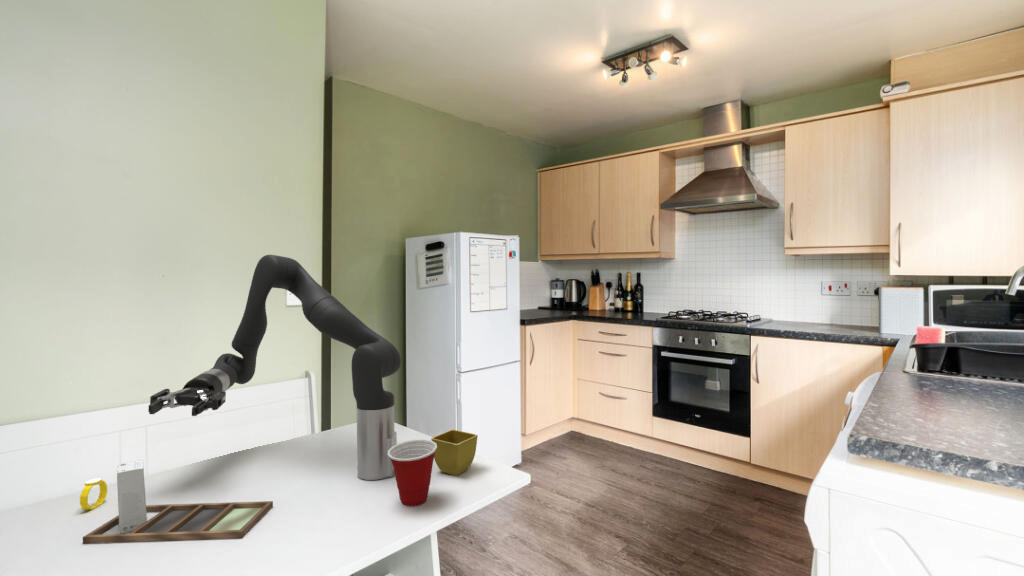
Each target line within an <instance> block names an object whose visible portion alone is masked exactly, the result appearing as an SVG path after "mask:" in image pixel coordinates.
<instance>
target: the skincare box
mask: <svg viewBox="0 0 1024 576" xmlns="http://www.w3.org/2000/svg"><path fill="white" fill-rule="evenodd" d="M144 470H145V466H144V460H137V461H131V462H126V463H121V464H119V465H117V469H116V471H117V472H116V482H117V483H116V484H117V488H116V489H117V507H118V515H119V524H118V531H119V534H129V533H130V532H132V531H133V530H135V529H136V528H138V527H139V526H141V525H142V524H144V523H145V522H147V521H148V519H147V518H148V517H147V512H146V505H147V501H146V485H145V471H144Z"/></svg>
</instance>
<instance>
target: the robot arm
mask: <svg viewBox="0 0 1024 576" xmlns="http://www.w3.org/2000/svg"><path fill="white" fill-rule="evenodd" d="M274 288H275V289H281V290H285V291H288V292H290V293H291V294H293V295H294V296H295V297H296V298H297V299H298V300H299V301H300V303H301V309H302V312H303V315H304V317H305V319H306V320H307V321H308V322H309V323H310V325H312V326H313V327H314V328H315V329H316V330H317V331H318V332H319V333H321V334H322V335H325V336H326V337H328V338H330V339H333V340H335V341H337V342H339V343H341V344H344V345H347V346H349V347H351V348H352V349H354V351H353V354H352V358H351V379H352V380H351V382H352V393H353V397H354V399H355V402H356V403H355V404H356V455H357V457H356V459H357V464H356V465H357V466H356V467H357V477H358V479H361V480H367V481H374V480H382V479H386V478H392V477H394V475H395V472H394V467H393V464H392V462H391V459H390V457H388V450H389V449H390V448H391V447H393V446H395V445H397V444H398V442H397V440H398V437H397V435H398V434H397V431H395V396H394V393H393V392H391V391H389V390H388V391H387V390H384V385H383V378H387V377H389V376H392V375H394V374H396V373H397V372H398V371H399V369H400V368H401V361H402V360H401V356H400V353H399V351H398V349H397V348H396V346H395V345H394V344H393V343H391V342H390V341H389V340H388V339H386V338H385V337H383V336H381V335H380V334H378V333H377V332H376V331H374V330H373V329H372V328H370V327H369V326H367V325H366V324H365V323H364V322H363V321H362V320H360V318H358V317H357V316H356V315H355V314H353V312H351V310H349V309H348V308H347V307H346V306H345V305H344V304H342V302H340V301H339V300H338V298H336V297H335V296H333V295H332V294H331V293H329V292H328V291H327V290H326V289H325V287H323V286H322V285H320V284H319V283H318V282H317V281H316V280H315V279H314V278H313V277H312V276H311V274H309V272H308V271H307V270H306V269H305V268H304V266H302V264H300V263H299V261H297V260H295V259H294V258H291V257H287V256H282V255H275V254H266V255H263V256H262V257H261V258H260V259H259V260H258V262H257V264H256V267H255V269H254V272H253V275H252V279H251V283H250V287H249V290H248V295H247V296H248V297H247V299H246V304H245V308H244V313H243V314H242V318H241V320H240V323H239V324H238V327H237V330H236V332H235V334H234V336H233V339H232V341H231V348H232V349H233V350H234V351H236V352H237V353H239V354H240V355H241V356H242V357H241V356H239V355H236V354H233V353H223V354H221V355H220V356H219V357H218V358H217V359H216V361H215V363H214V365H213V367H212V368H210V369H208V370H205V371H204V372H201V373H200V374H198V375H197V376H194V377H193V378H192V379H190V380H189V381H187V382H186V383H185V385H184V386H183V387H182V389H180V390H176V391H172V392H171V389H170V388H164V389H162V390H159V391H158V392H157V393H154V394H152V395H151V396H150V397H149V400H150V401H149V405H148V411H147V412H148V413H149V415H155V414H156V413H159V412H160V411H161V410H162V409H166V408H170V409H174V408H175V409H176V408H177V407H178V408H179V407H182V406H184V407H187V406H192V407H191V416H192V417H197V416H198V415H200V414H202V413H203V412H206V411H208V410H209V409H211V410H212V411H217V410H219V409H220V408H221V406H223V404H225V403H226V397H227V396H226V395H227V393H226V392H227V390H229V389H230V388H231V387H233V386H234V385H235V383H236V384H238V385H245V384H247V383H249V382H250V381H251V380H252V379H253V378H254V375H255V372H256V367H257V356H258V352H259V351H258V350H259V347H260V345H261V343H262V340H263V339H264V336H265V334H266V331H267V329H268V328H267V327H268V316H267V315H268V314H267V309H266V308H267V307H266V304H267V298H268V296H269V294H270V292H271V290H272V289H274ZM165 402H167V403H165ZM175 402H176V403H175Z"/></svg>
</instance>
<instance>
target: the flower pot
mask: <svg viewBox="0 0 1024 576" xmlns="http://www.w3.org/2000/svg"><path fill="white" fill-rule="evenodd" d="M430 441H433V442H435V443H436V444H437V449H436V451H435V455H434V462H435V464H436V466H437V467H438V469H439V471H440V472H441V473H445V474H448V475H451V476H459V475H460V474H462V473H464V472H465V471H468V469H470V467H471V465H472V463H473V462H474V458H475V455H476V451H477V444H478V434H475V433H472V432H468V431H467V432H466V431H462V430H459V429H458V430H457V429H450V430H447V431H445V432H443V433H440V434H437V435H435V436H433V437H431V440H430Z"/></svg>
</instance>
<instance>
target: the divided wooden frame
mask: <svg viewBox="0 0 1024 576" xmlns="http://www.w3.org/2000/svg"><path fill="white" fill-rule="evenodd" d="M273 507H274V501H270V500H269V501H265V500H263V501H237V502H234V501H233V502H209V503H207V502H204V503H203V502H202V503H199V502H198V503H174V504H171V503H170V504H146V513H157V514H155V515H154V516H152V517H151V518H149V519H147V522H145V523H144V524H142V525H141V526H139V527H138V528H136V529H135V530H133V531H132V532H128V533H123V534H120V533H107V534H106V532H107V531H109V530H110V529H112V528H114V527H115V526H117V525H119V514H118V515H116V516H115V517H113V518H112V519H110V520H109V521H107V522H105V523H103V524H101V526H99V527H96V529H94V530H92V531H90V532H89V533H87V534H86V535H84V536H82V545H83V544H85V545H86V544H108V543H109V544H110V543H139V542H140V543H141V542H165V541H166V542H169V541H170V542H171V541H195V540H196V541H197V540H198V541H199V540H201V541H203V540H225V539H227V540H229V539H243V538H244V537H245V535H246V534H248V532H250V530H251V529H253V528H254V527H255V526H256V524H258V522H259V521H260V520H261V519H262V518H263V517H264V516H265V515H266V514H268V513H269V511H270V510H271V509H272V508H273Z"/></svg>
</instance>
